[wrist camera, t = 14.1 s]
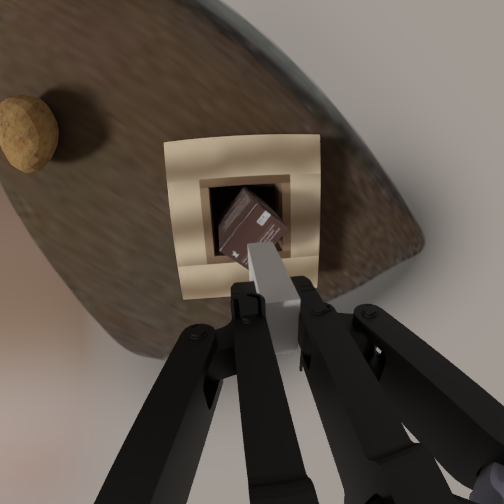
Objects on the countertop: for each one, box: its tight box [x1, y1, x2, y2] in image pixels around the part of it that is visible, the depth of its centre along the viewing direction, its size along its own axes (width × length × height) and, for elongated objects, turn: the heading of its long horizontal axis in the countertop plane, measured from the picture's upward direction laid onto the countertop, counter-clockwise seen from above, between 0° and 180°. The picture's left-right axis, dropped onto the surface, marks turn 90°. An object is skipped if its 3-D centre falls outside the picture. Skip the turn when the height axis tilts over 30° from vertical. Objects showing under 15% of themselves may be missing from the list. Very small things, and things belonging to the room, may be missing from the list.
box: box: [218, 186, 288, 270], centre depth 33 cm, size 6×4×12 cm
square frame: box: [164, 134, 321, 299], centre depth 36 cm, size 20×18×5 cm
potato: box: [0, 95, 59, 173], centre depth 27 cm, size 10×14×8 cm
